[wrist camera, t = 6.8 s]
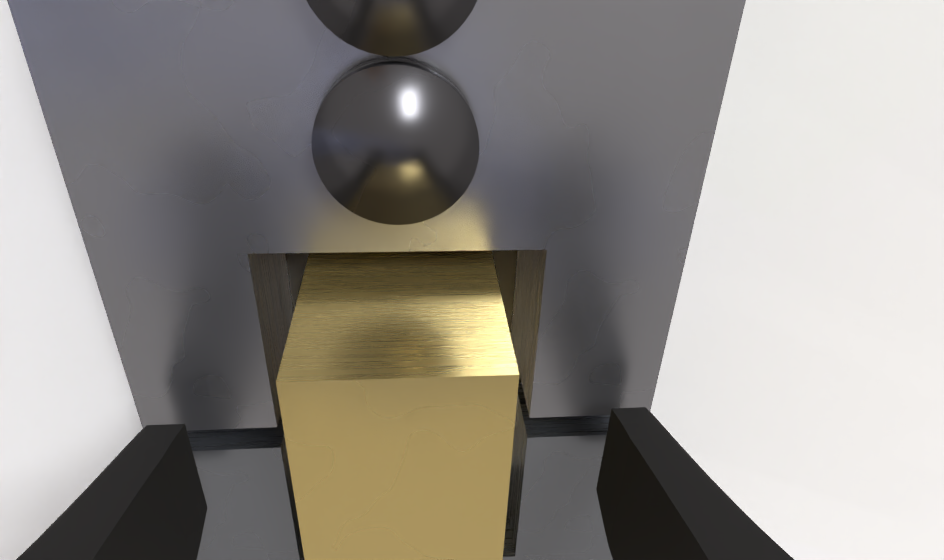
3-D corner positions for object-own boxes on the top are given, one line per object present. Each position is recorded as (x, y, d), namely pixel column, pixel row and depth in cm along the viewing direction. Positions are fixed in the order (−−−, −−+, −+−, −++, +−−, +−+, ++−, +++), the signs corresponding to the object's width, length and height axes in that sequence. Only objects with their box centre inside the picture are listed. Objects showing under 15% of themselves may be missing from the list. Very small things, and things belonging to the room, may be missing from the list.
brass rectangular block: (471, 433, 16) (495, 642, 11) (343, 439, 15) (319, 654, 11) (480, 205, 12) (518, 374, 8) (321, 206, 12) (275, 381, 8)
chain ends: (567, 590, 19) (591, 695, 17) (251, 609, 18) (227, 722, 16) (698, -146, 10) (799, -154, 7) (58, -173, 9) (-77, -192, 6)
